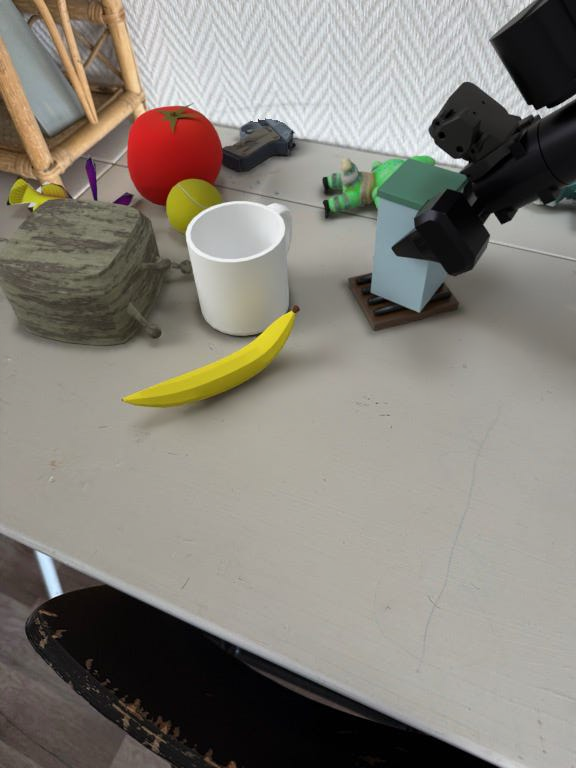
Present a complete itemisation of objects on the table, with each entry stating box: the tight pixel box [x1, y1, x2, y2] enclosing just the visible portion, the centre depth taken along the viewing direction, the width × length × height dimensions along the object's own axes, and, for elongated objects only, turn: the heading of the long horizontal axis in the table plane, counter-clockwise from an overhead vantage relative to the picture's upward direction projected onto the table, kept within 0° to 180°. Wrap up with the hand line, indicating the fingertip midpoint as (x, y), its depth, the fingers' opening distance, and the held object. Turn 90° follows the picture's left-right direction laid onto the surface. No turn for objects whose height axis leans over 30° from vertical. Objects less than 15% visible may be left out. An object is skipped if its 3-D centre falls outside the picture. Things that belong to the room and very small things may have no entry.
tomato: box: [126, 102, 223, 207], centre depth 78 cm, size 12×14×11 cm
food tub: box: [371, 157, 468, 313], centre depth 61 cm, size 6×6×13 cm
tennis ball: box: [165, 179, 224, 237], centre depth 74 cm, size 7×7×7 cm
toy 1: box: [5, 153, 135, 214], centre depth 76 cm, size 12×19×10 cm
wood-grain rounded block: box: [0, 198, 193, 346], centre depth 66 cm, size 14×9×25 cm
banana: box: [121, 305, 300, 409], centre depth 58 cm, size 3×19×6 cm, turn 122°
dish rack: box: [347, 272, 460, 332], centre depth 67 cm, size 10×8×2 cm
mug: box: [185, 200, 293, 337], centre depth 64 cm, size 13×10×10 cm
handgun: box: [222, 118, 297, 172], centre depth 89 cm, size 2×14×12 cm
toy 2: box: [321, 155, 437, 219], centre depth 77 cm, size 10×7×15 cm
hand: (414, 226), depth 60 cm, fingers open, 9 cm apart
